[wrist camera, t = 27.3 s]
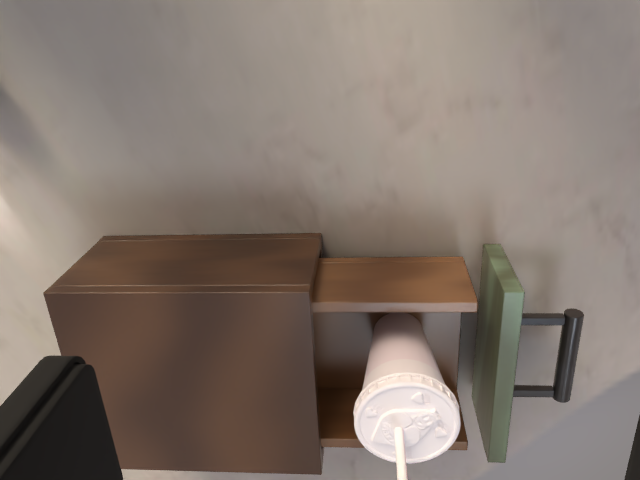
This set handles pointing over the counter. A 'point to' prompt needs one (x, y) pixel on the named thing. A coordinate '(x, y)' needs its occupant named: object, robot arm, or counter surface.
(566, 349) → the drawer
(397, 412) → the smoothie
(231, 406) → the cabinet
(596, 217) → the counter surface
